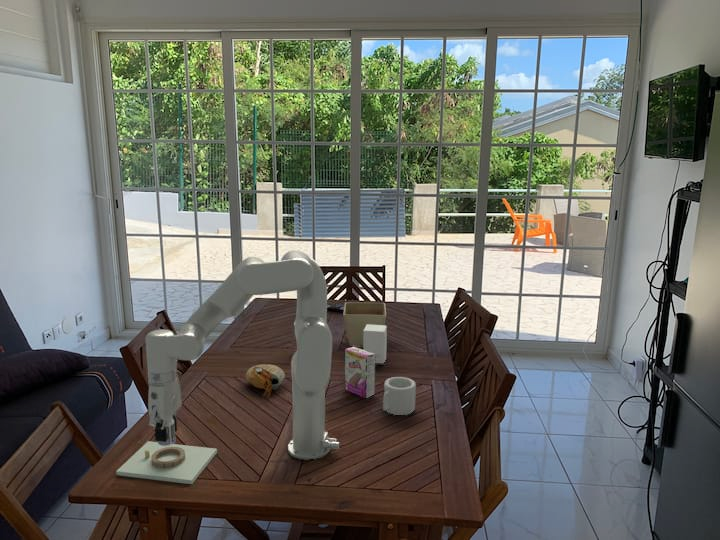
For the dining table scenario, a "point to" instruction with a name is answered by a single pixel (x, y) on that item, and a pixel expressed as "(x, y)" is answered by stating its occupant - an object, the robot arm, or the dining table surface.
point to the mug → (399, 396)
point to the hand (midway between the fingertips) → (166, 435)
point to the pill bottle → (169, 431)
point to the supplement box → (375, 341)
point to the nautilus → (265, 377)
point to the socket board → (168, 462)
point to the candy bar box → (360, 371)
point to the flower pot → (362, 319)
